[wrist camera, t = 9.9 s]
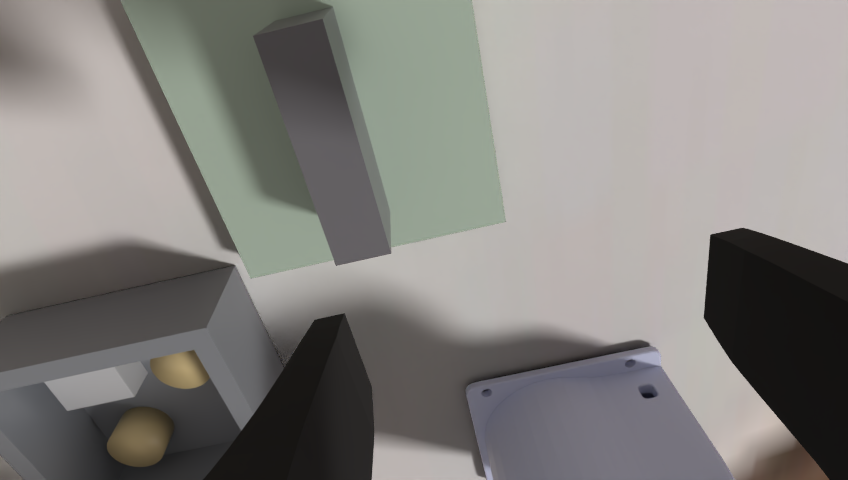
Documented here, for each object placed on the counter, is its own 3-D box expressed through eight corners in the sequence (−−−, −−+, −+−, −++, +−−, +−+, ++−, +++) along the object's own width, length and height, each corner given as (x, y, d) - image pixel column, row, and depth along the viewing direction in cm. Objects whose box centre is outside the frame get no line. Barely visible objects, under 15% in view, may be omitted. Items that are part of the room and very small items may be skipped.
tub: (235, 265, 21) (206, 327, 18) (311, 426, 26) (301, 500, 23) (5, 316, 22) (-66, 386, 18) (124, 465, 27) (85, 543, 23)
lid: (451, -83, 16) (475, -93, 12) (496, 201, 21) (524, 264, 17) (145, -6, 16) (63, 10, 12) (260, 254, 21) (230, 328, 17)
